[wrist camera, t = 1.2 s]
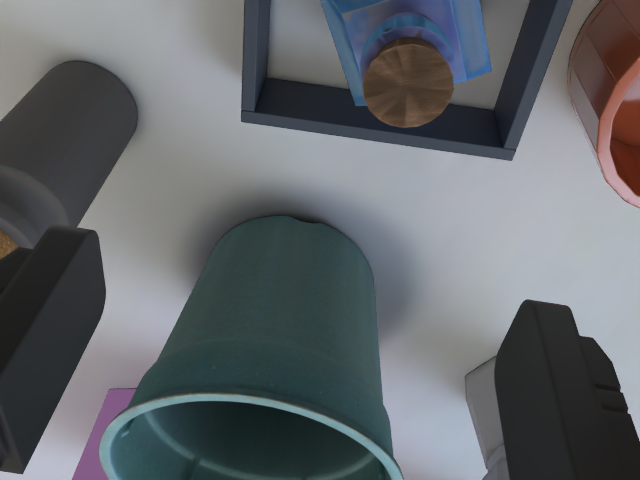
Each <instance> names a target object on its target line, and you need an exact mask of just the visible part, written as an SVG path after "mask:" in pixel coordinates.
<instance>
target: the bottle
mask: <svg viewBox="0 0 640 480" xmlns="http://www.w3.org/2000/svg"><path fill="white" fill-rule="evenodd" d="M137 116H138V115H137V108H136V104H135V102H134V100H133V97H132V95H131V93H130V92H129V91H128V89H127V88H126V86H125V85H124V84H123V83H122V82H121V81H120V80H119V79H118V78H117V77H116V76H114V75H113V74H111V73H110V72H109V71H107V70H105V69H103V68H101V67H99V66H96V65H93V64H90V63H86V62H76V61H74V62H67V63H63V64H60V65H58V66H56V67H55V68H53V69H52V70H50V71H49V72H48V73H47V74H46V75H45V76H44V77H43V78H42V79H41V80H40V81H39V82H38V83H37V84H36V85H35V86H34V87H33V88H32V89H31V90H30V91H29V92H28V93H27V94H26V95H25V96H24V97H23V98H22V100H21V101H20V102H19V103H18V104H17V105H16V106H15V107H14V108H13V109H12V110H11V111H10V112H9V113H8V114H7V115H6V116H5V117H4V118H3V119H2V120H1V121H0V259H2V258H3V257H5V256H6V255H8V254H9V253H11V252H12V251H14V250H15V249H17V248H18V247H22V248H28V249H33V248H34V247H35V245H36V244H37V243H38V241H39V240H40V238H41V237H42V235H43V234H44V233H45V231H46V230H47V229H48V227H50V226H51V225H53V224H57V225H63V226H70V227H77V226H78V224H79V223H80V221H81V219H82V218H83V216H84V214H85V213H86V211H87V210H88V208H89V206H90V205H91V203H92V202H93V200H94V198H95V197H96V195H97V193H98V192H99V190H100V189H101V187H102V185H103V184H104V182H105V180H106V179H107V177H108V176H109V174H110V172H111V171H112V169H113V167H114V166H115V164H116V162H117V161H118V159H119V157H120V156H121V154H122V152H123V151H124V149H125V147H126V146H127V144H128V142H129V141H130V139H131V137H132V135H133V133H134V131H135V129H136V125H137Z"/></svg>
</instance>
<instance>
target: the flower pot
mask: <svg viewBox="0 0 640 480" xmlns="http://www.w3.org/2000/svg"><path fill="white" fill-rule="evenodd" d="M99 459H100V463H101V466H102V468H103V470H104V472H105V473H106V475H107V477H108V478H109V480H404V478H403V475H402V472H401V469H400V467H399V465H398V464H397V462H396V460H395V459H394V457H393V448H392V439H391V428H390V421H389V417H388V414H387V411H386V409H385V407H384V405H383V397H382V384H381V371H380V358H379V344H378V330H377V317H376V301H375V290H374V278H373V273H372V270H371V267H370V265H369V263H368V261H367V259H366V258H365V256H364V255H363V253H362V252H361V251H360V249H359V248H358V247H357V246H356V245H355V244H354V243H353V242H352V241H351V240H349V239H348V238H347V237H346V236H344V235H343V234H342V233H340V232H339V231H337V230H335V229H333V228H331V227H329V226H327V225H325V224H322V223H317V224H311V223H305V222H302V221H298V220H296V219H294V218H292V217H290V216H269V217H263V218H258V219H254V220H251V221H248V222H245V223H243V224H241V225H238V226H237V227H235V228H233V229H232V230H230V231H229V232H227V233H226V234H225V235H224V236H223V237H222V238H221V239H220V240H219V241H218V243H217V244H216V245H215V247H214V249H213V251H212V253H211V255H210V257H209V259H208V261H207V263H206V265H205V267H204V269H203V271H202V273H201V275H200V277H199V279H198V281H197V283H196V285H195V287H194V288H193V290H192V292H191V294H190V296H189V298H188V300H187V302H186V304H185V306H184V308H183V310H182V312H181V314H180V316H179V318H178V320H177V322H176V324H175V326H174V328H173V330H172V332H171V334H170V336H169V338H168V340H167V342H166V344H165V346H164V348H163V350H162V352H161V354H160V356H159V358H158V360H157V362H156V363H155V364H154V365H153V366H152V367H151V368H150V369H149V370H148V371H147V372H146V374H145V375H144V376H143V378H142V380H141V382H140V383H139V385H138V387H137V389H136V391H135V393H134V395H133V397H132V399H131V401H130V403H129V405H128V406H127V408H125V409H124V410H123V411H121V412H120V413H119V414H118V415H117V416H116V417H115V418H114V419H113V420H112V421H111V422H110V424H109V425H108V426H107V428H106V429H105V431H104V433H103V435H102V437H101V440H100V444H99Z"/></svg>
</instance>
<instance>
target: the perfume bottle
mask: <svg viewBox="0 0 640 480" xmlns="http://www.w3.org/2000/svg"><path fill="white" fill-rule="evenodd" d="M320 1H321V4H322V7H323V10H324V13H325V16H326V19H327V22H328V25H329V28H330V31H331V34H332V37H333V40H334V43H335V46H336V49H337V52H338V55H339V58H340V61H341V64H342V67H343V70H344V73H345V76H346V79H347V82H348V85H349V88H350V91H351V94H352V97H353V100H354V103H355V106H368V108H369V110H370V111H371V112H372V113H373V114H374V115H375V116H376V117H377V118H378V119H379V120H381V121H383V122H385V123H387V124H389V125H391V126H396V127H402V128H408V127H417V126H420V125H423V124H425V123H428V122H430V121H432V120H433V119H435V118H436V117H437V116H438V115H440V114H441V113H442V112H443V111H444V109H445V108H446V106H447V105H448V104H449V102H450V99H451V96H452V93H453V90H454V85H453V84H455V83H459V82H463V81H467V80H469V79H472V78H474V77H477V76H479V75H482V74H484V73H487V72H489V71H492V70H491V64H490V58H489V52H488V47H487V41H486V35H485V29H484V23H483V18H482V12H481V6H480V0H320Z"/></svg>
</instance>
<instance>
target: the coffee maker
mask: <svg viewBox="0 0 640 480" xmlns="http://www.w3.org/2000/svg"><path fill="white" fill-rule="evenodd" d="M495 362H496V357H493V358H492V359H490V360H489V361H487V362H486V363H484V364H483V365H481V366H480V367H478V368H477V369H475V370H474V371H472V372H471V373H469V374H468V375H466V376H465V384H466V401H467V404H468V407H469V411H470V414H471V418H472V421H473V425H474V428H475V431H476V435H477V438H478V442H479V445H480V448H481V452H482V455H483V459H484V462H485V466H486V469H488V473H487V474H486V476H485V477H484V478H483V479H482V480H510V479H509V472H508V466H507V460H506V453H505V447H504V441H503V434H502V428H501V421H500V415H499V409H498V402H497V396H496V390H495V383H494V369H495Z"/></svg>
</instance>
